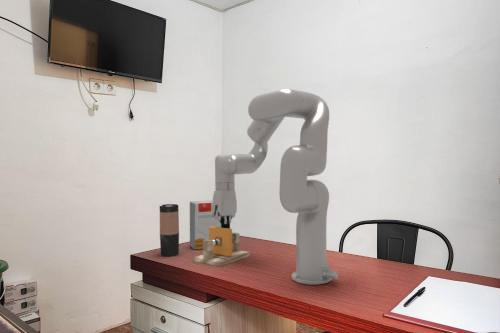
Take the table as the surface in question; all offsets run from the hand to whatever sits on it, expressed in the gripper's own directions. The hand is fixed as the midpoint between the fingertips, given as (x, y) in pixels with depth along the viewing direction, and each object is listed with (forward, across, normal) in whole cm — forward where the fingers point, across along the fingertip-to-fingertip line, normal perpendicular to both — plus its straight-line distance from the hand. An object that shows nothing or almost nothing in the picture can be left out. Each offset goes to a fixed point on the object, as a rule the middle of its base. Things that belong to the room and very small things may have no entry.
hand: (225, 233), depth 151 cm
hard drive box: (+10, -10, -18) cm, 23 cm away
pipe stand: (+9, +2, 0) cm, 10 cm away
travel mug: (+10, +9, -22) cm, 26 cm away
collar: (+7, +3, 0) cm, 8 cm away
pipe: (+4, +2, 0) cm, 4 cm away
